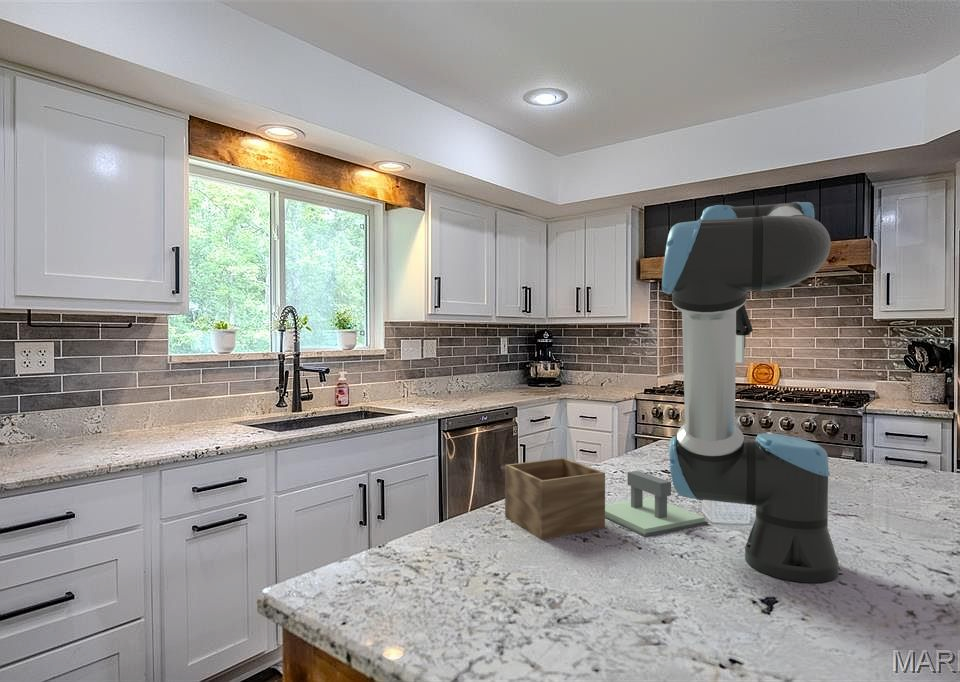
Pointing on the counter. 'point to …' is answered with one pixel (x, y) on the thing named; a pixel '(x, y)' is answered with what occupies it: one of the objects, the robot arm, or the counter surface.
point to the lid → (650, 506)
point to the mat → (656, 531)
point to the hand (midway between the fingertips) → (717, 363)
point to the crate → (555, 497)
